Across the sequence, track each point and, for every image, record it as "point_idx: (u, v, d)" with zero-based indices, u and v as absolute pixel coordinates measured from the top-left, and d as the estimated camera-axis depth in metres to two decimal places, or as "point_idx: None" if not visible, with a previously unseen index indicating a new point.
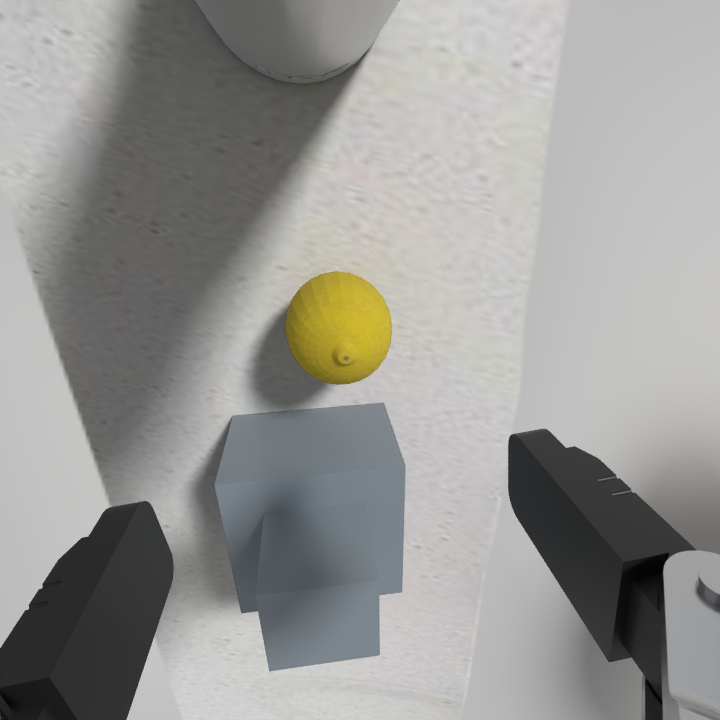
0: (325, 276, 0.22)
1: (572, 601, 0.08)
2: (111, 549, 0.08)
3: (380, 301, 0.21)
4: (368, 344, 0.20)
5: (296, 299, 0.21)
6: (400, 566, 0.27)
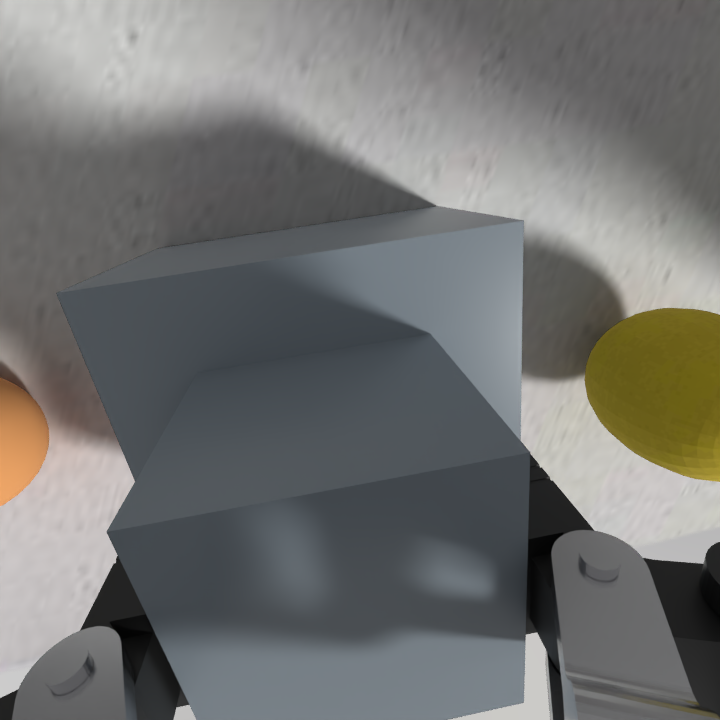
0: None
1: None
2: None
3: None
4: None
5: None
6: None
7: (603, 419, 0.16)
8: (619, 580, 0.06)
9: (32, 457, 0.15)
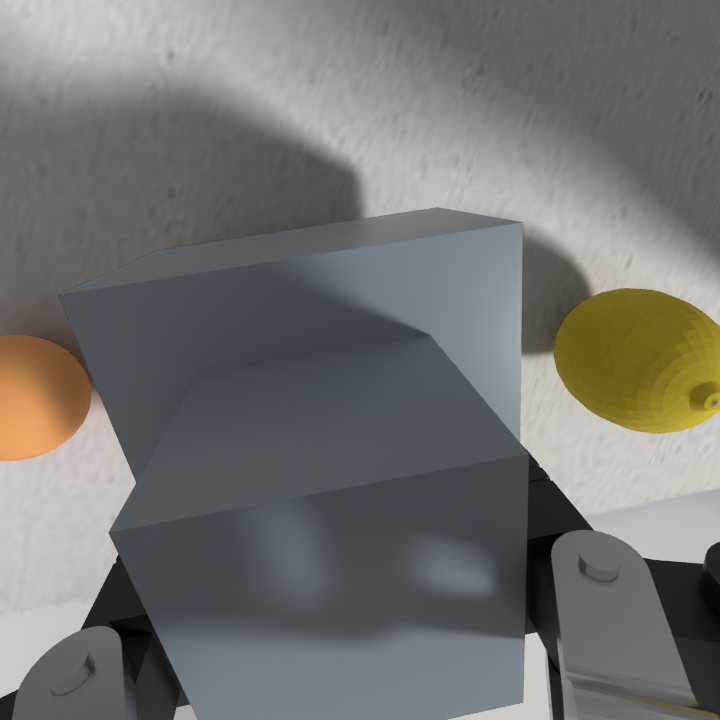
0: None
1: None
2: None
3: None
4: (702, 419, 0.15)
5: None
6: None
7: (567, 384, 0.18)
8: (619, 580, 0.06)
9: (79, 408, 0.17)
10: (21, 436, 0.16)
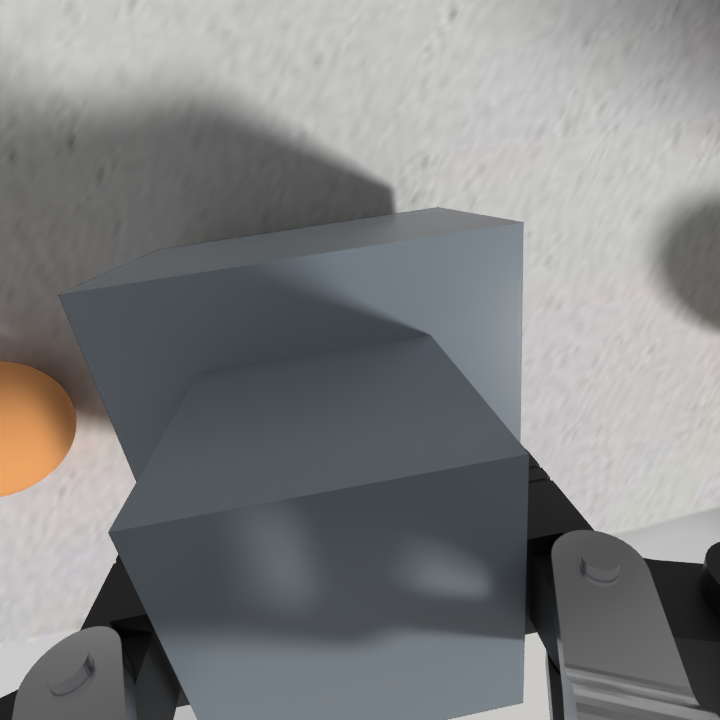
0: None
1: None
2: None
3: None
4: None
5: None
6: None
7: None
8: (619, 580, 0.06)
9: None
10: None
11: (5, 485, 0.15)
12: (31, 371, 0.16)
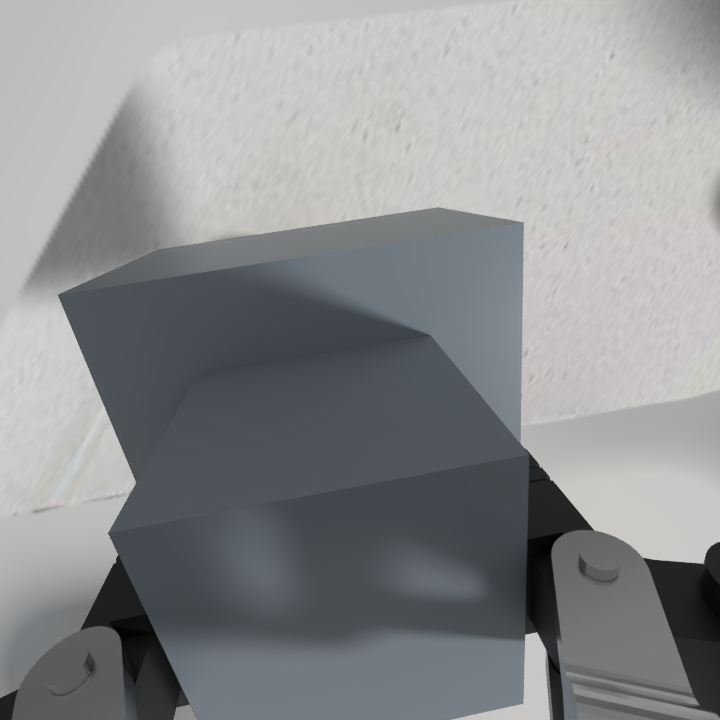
0: None
1: None
2: None
3: None
4: None
5: None
6: None
7: None
8: (619, 580, 0.06)
9: None
10: None
11: None
12: None
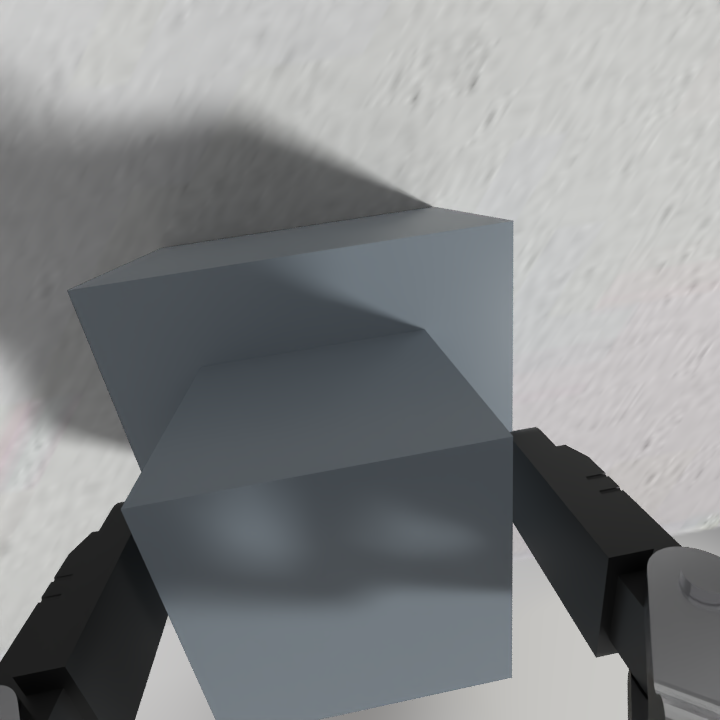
0: None
1: (562, 598, 0.08)
2: (122, 543, 0.08)
3: None
4: None
5: None
6: None
7: None
8: None
9: None
10: None
11: None
12: None
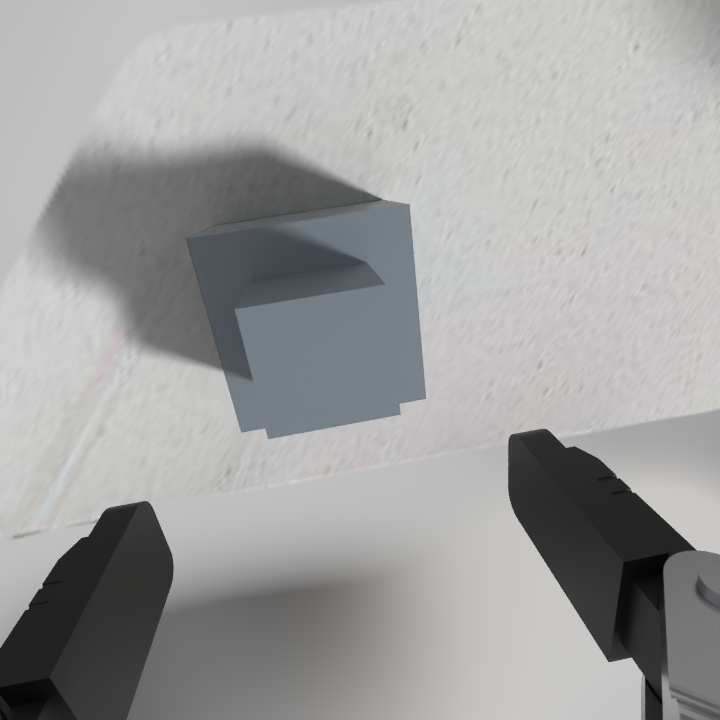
0: None
1: (573, 601, 0.08)
2: (111, 549, 0.08)
3: None
4: None
5: None
6: None
7: None
8: None
9: None
10: None
11: None
12: None
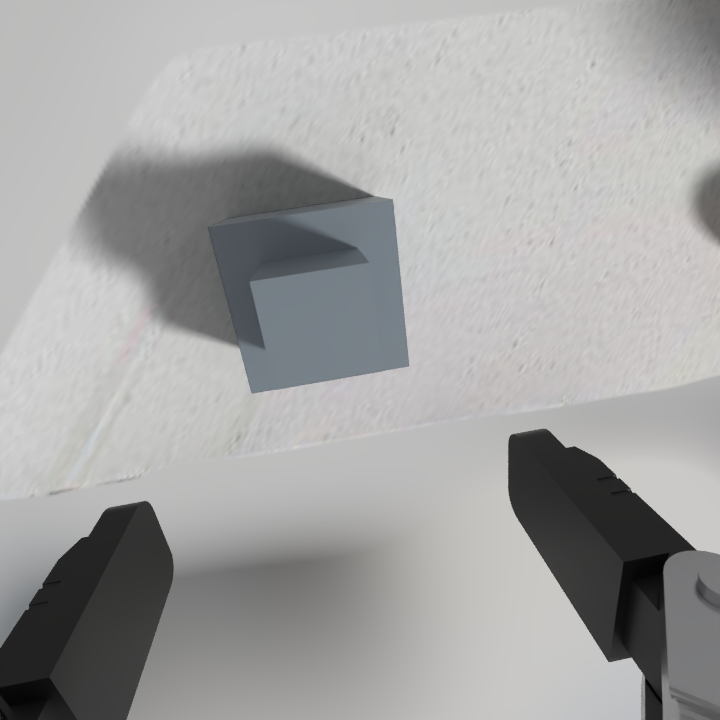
0: None
1: (573, 601, 0.08)
2: (111, 549, 0.08)
3: None
4: None
5: None
6: None
7: None
8: None
9: None
10: None
11: None
12: None
